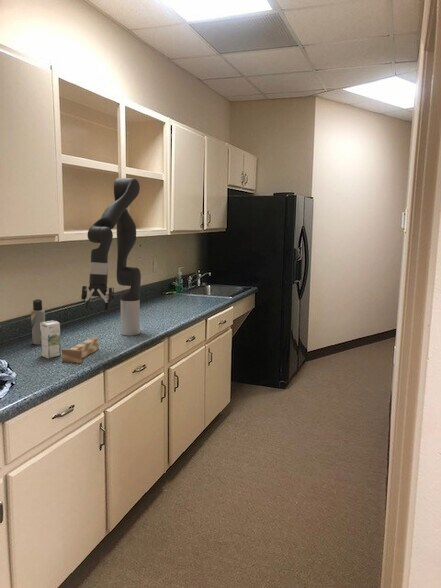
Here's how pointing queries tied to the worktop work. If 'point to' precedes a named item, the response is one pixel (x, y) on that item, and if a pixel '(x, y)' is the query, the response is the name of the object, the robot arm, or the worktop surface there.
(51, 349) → the syrup box
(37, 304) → the lotion bottle
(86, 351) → the tan wooden block
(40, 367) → the worktop surface
